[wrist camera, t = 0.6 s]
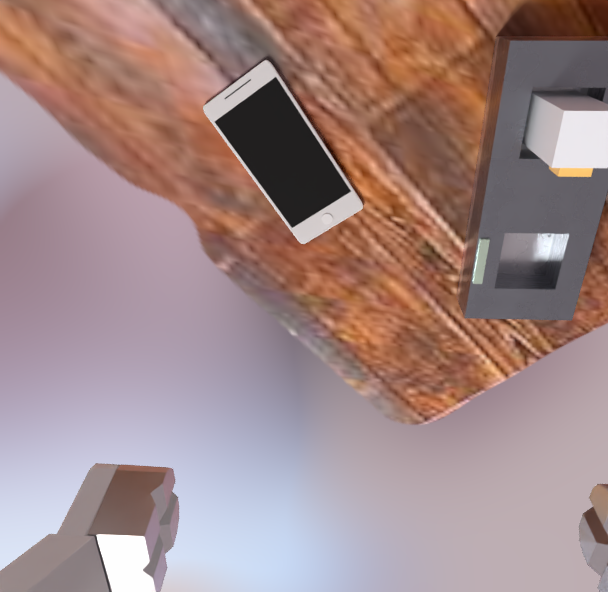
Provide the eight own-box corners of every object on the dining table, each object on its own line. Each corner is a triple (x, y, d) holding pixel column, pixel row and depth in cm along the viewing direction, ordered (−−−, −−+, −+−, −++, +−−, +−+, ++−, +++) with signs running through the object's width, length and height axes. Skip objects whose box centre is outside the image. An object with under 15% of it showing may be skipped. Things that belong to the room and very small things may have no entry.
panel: (496, 36, 44) (511, 40, 40) (624, 36, 44) (650, 40, 40) (456, 297, 56) (465, 319, 52) (556, 299, 56) (572, 321, 52)
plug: (528, 91, 45) (564, 110, 38) (578, 91, 45) (623, 111, 38) (517, 149, 47) (549, 178, 41) (564, 150, 47) (604, 179, 40)
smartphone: (302, 242, 54) (301, 246, 53) (202, 106, 48) (200, 108, 47) (364, 204, 52) (365, 207, 51) (268, 56, 46) (267, 58, 45)
